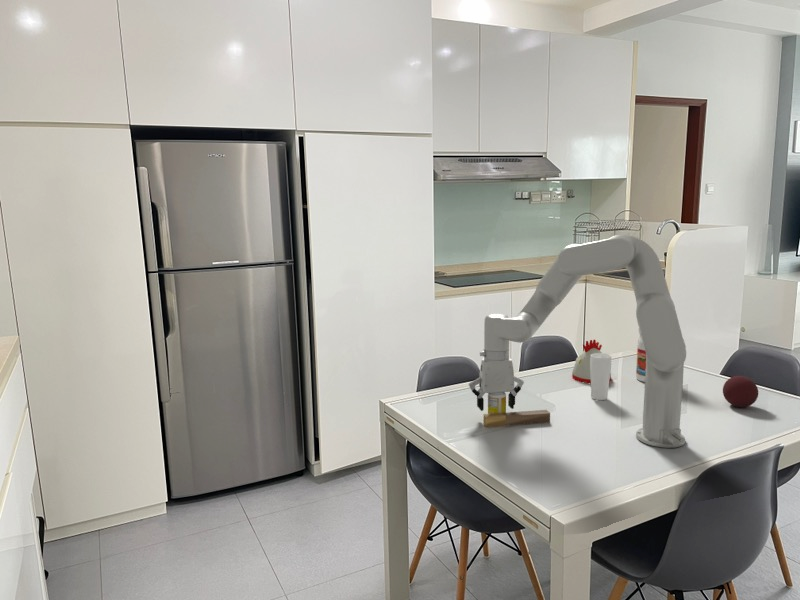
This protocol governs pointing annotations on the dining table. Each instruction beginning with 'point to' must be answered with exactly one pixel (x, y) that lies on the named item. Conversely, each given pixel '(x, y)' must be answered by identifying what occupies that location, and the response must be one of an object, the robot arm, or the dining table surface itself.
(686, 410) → the dining table surface
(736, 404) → the decorative ball
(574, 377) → the white and red dome
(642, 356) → the fruit juice
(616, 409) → the dining table surface
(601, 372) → the drinking glass
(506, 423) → the brown wooden bar
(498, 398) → the supplement bottle
